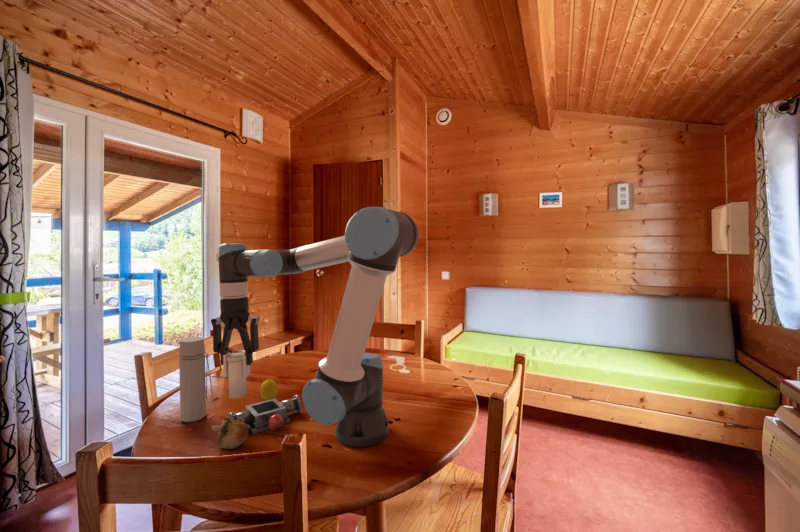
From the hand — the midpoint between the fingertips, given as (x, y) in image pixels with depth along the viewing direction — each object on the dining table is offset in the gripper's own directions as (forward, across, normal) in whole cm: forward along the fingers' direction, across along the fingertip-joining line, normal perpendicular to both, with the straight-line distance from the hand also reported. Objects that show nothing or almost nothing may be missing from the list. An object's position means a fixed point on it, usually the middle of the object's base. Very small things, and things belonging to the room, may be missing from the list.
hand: (237, 375), depth 107 cm
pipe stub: (+6, 0, 0) cm, 6 cm away
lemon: (+16, -1, -20) cm, 25 cm away
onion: (+16, -3, +9) cm, 19 cm away
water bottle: (+16, +17, -6) cm, 24 cm away
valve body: (+16, -7, -4) cm, 18 cm away
